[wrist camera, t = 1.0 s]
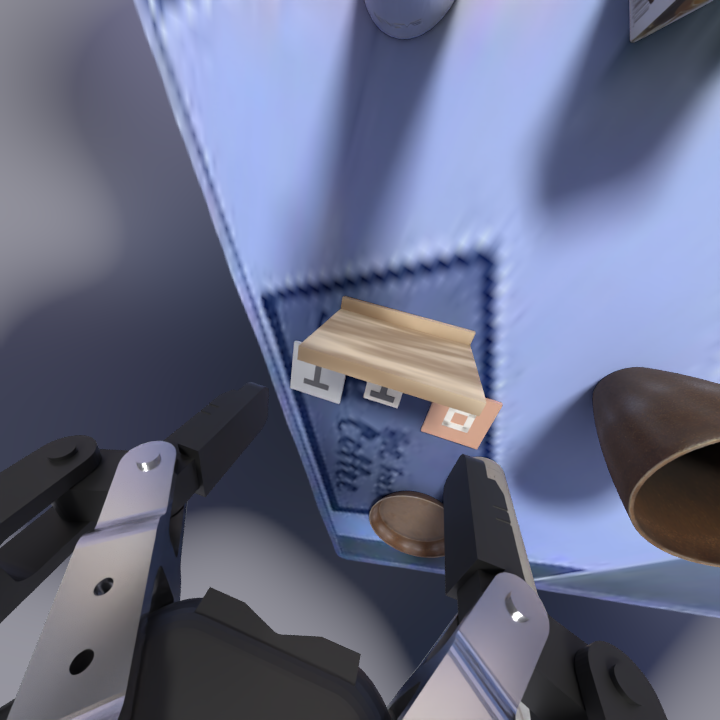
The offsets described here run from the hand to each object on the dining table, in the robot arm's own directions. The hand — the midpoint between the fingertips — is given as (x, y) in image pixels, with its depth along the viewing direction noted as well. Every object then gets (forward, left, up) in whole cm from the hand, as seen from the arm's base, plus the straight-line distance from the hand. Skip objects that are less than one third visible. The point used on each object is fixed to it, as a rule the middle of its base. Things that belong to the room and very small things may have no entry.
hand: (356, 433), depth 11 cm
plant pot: (+6, +29, -28) cm, 41 cm away
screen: (+6, 0, -28) cm, 28 cm away
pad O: (+17, +12, -28) cm, 34 cm away
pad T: (+17, -11, -28) cm, 34 cm away
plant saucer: (+43, +13, -28) cm, 53 cm away
